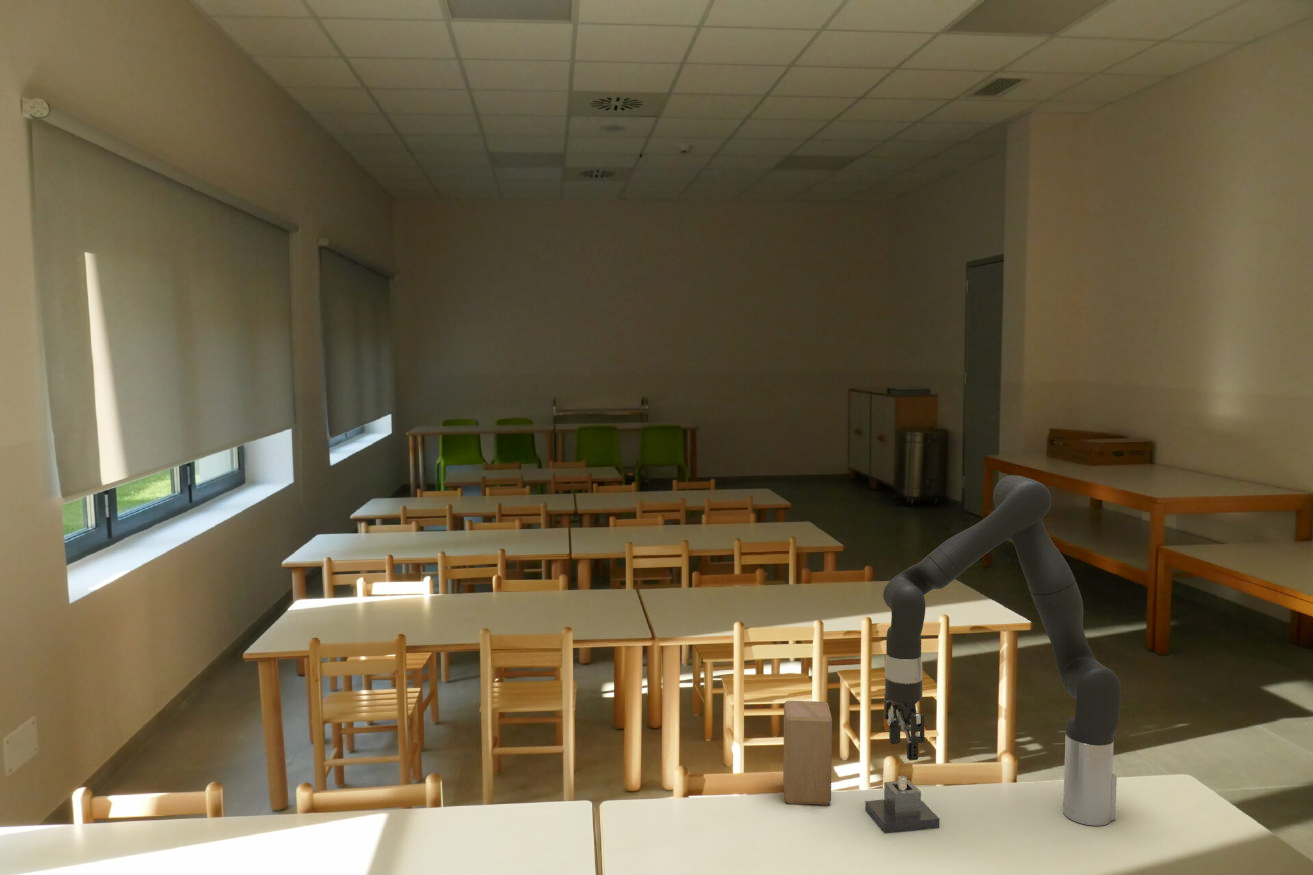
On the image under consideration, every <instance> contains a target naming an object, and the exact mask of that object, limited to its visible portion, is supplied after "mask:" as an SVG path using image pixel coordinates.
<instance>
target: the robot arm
mask: <svg viewBox="0 0 1313 875" xmlns="http://www.w3.org/2000/svg"><path fill="white" fill-rule="evenodd" d="M992 498H993V504H994V507H995V508H994V510H993V511H992V512H991V513H989V514H988V515H987V516H986V517H985V518H983V519H982V520H980V521H979V522H977V523H976V524H974V525H971V526H970V527H968V528H966V529H964V530H962V531H960V532H958V533H957V534H955V535H953V536H951V537H949V538H948V539H947V540H945V541H943V542H942V543H941V544H939V545H938V546H937V547H936V548H935V549H933V551H931V552H930V553H929V554H927V556H925V557H924V558H923V559H922V560H921V561H919V562H917V563H916V564H914V565H912V566H910V567H907V569H905V570H903V571H901V572H900V573H898V574H897V575H895V576H894V577H892V579H890V580H889V581H888V582H887V584H886V585H885V587H884V589H883V592H882V596H883V597H882V598H883V601H884V603H885V604H886V606H887V607H888V608H889V609H890V611H891V616H890V617H891V618H890V619H891V621H890V622H891V623H890V627H888V628H887V631H886V638H885V639H886V640H885V642H886V643H885V645H886V647H885V649H886V650H885V652H886V654H885V655H886V656H885V663H884V677H885V678H884V679H885V680H884V690H885V691H884V696H883V697H884V699H883V700H884V702H883V703H884V704H883V718H884V720H886V721H887V725H888V727H889V728H888V729H889V732H888V733H889V735H888V736H889V737H888V739H889V740H888V742H890V744H891V745H896V744H898V745H899V744H901V731H902V733H904V734H905V738H906V759H907V760H908V761H917V760H919V744H924V743H925V740H926V739H925V736H926V735H925V716H924V713H922V712H919V713H918V711H917V707H916V705H917V703H918V702H920V701H922V699H923V660H922V631H923V628H924V621H925V618H926V617H925V615H926V599H925V595H926V594H927V593H929V592H931V591H933V590H941V589H943V588H945V587H946V586H948V585H950V583H952V582H954V580H955V579H956V578H958V577H959V576H961V575H962V574H963V573H964V572H965V571H967V569H968V568H970V567H971V566H972V565H974V564H975V563H976V562H977V561H979V560H980V559H981V558H983V557H984V556H985V555H987V554H988V553H990V552H991V551H992V550H994V549H995V548H996V547H999V546H1000V545H1001V544H1003V543H1005V542H1006V541H1008V540H1009V539H1011V541H1012V544H1013V547H1014V549H1015V552H1016V554H1017V558H1018V561H1019V564H1020V567H1021V570H1022V573H1023V575H1024V578H1025V580H1026V584H1027V587H1028V590H1029V592H1030V596H1031V598H1032V601H1033V603H1034V606H1035V608H1036V610H1037V613H1038V615H1039V617H1040V620H1041V622H1042V625H1043V627H1044V630H1045V633H1046V634H1047V637H1048V639H1049V641H1050V644H1051V646H1052V651H1053V654H1054V659H1055V662H1056V666H1057V671H1058V674H1059V679H1060V682H1061V684H1062V686H1063V689H1064V690H1065V691H1066V692H1067V694H1068V695H1070V697H1072V698H1073V699H1074V700H1075V710H1074V711H1075V712H1074V716H1072V717H1069V718H1068V719H1067V720H1066V723H1065V737H1064V739H1065V740H1064V741H1065V742H1064V743H1065V744H1064V746H1065V748H1064V772H1063V773H1064V774H1063V796H1062V797H1063V798H1062V803H1063V804H1062V812H1063V814H1064V815H1065V817H1066V818H1068V819H1070V820H1071V821H1073V822H1075V823H1079V824H1082V825H1087V826H1098V827H1099V826H1106V825H1108V824H1109V823H1110V822H1111V821H1116V811H1117V810H1116V808H1117V806H1116V805H1117V783H1118V782H1117V781H1118V779H1117V778H1118V777H1117V776H1116V774H1114V773H1113V770H1114V742H1115V734H1116V732H1117V730H1118V728H1119V723H1120V715H1121V714H1120V713H1121V703H1122V687H1121V682H1120V679H1119V676H1117V674H1116V673H1115V672H1114V671H1113V670H1112V669H1110V668H1108V666H1107V667H1106V666H1105V665H1103V664H1101V663H1100V662H1099V661H1098V660H1097V658H1096V657H1095V655H1094V653H1093V650H1092V649H1091V647H1090V644H1089V642H1088V639H1087V637H1086V634H1085V631H1084V630H1085V629H1084V602H1083V598H1082V595H1081V591H1080V589H1079V586H1078V584H1077V581H1076V578H1075V576H1074V573H1073V572H1072V569H1071V567H1070V566H1069V564H1068V562H1067V561H1066V559H1065V557H1064V556H1063V554H1062V553H1061V552H1060V550H1059V549H1058V547H1057V546H1056V544H1055V543H1054V541H1053V540H1052V538H1051V537H1050V535H1049V534H1048V532H1047V529H1046V526H1045V524H1044V522H1043V518H1045V516H1046V515H1047V514H1048V513H1049V511H1050V510H1051V506H1052V495H1051V492H1050V490H1049V489H1048V488H1047V487H1046V485H1045V484H1043V483H1042V482H1039V481H1038V480H1035V479H1032V478H1029V477H1025V476H1022V475H1018V474H1017V475H1015V474H1011V475H1007V476H1004V477H1003V478H1001V479H999V480H998V482H997V483H996V485H995V487H994V490H993V495H992Z"/></svg>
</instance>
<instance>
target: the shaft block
mask: <svg viewBox="0 0 1313 875" xmlns="http://www.w3.org/2000/svg"><path fill="white" fill-rule="evenodd" d="M907 779H908V777H906V776H905V775H899V776H897V781H898V791H905V790H907ZM864 803H865V807H864V809H865V812H866V813H867V814H868V815H869V817H870V818H871V819H872V820H873V822H874V823H875V824H876V825H877V826H878V827H879V828H880V829H881V831H882V832H883V833H884V834H892V833H893V834H895V833H901V832H902V833H904V832H912V831H914V832H915V831H922V830H923V831H924V830H932V829H933V830H934V829H940V823H941V822H940V820H941V819H940V817H938V816H937V815H936V813H934V811H933V810H932V809H931V808H930V807H929V806H928V805H927V804H926V803H925V802H924V801H923V800H922V799H921V815H917V816H906V817H894V816H893V814H892V813H891V812H890V811H889V810H888V809H887V808H886V806H885V805H884V799H876V800H875V799H874V800H865V801H864Z"/></svg>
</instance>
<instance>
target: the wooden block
mask: <svg viewBox="0 0 1313 875" xmlns="http://www.w3.org/2000/svg"><path fill="white" fill-rule="evenodd" d="M829 705H830V704H829V703H828V702H826V701H811V700H786V701H785V702H784V704H783V764H782V766H783V768H782V770H783V775H782V778H783V780H782V781H783V794H784V800H785V802H786V803H787V802H788V803H787V804H799V805H800V804H801V805H820V806H821V805H822V806H824V805H825V806H827V805H830V803H832V802H831V801H832V766H833V765H832V761H833V760H832V758H833V757H832V756H833V755H832V752H833V750H832V749H833V748H832V747H833V744H832V743H833V718H832V714H831V710H830V706H829Z"/></svg>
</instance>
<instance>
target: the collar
mask: <svg viewBox="0 0 1313 875" xmlns="http://www.w3.org/2000/svg"><path fill="white" fill-rule="evenodd" d="M883 791H884V792H883V794H884V795H883V797H884V798H883V800H884V805H885V806H886V808H887V809H888V810H889V811H890V812H891V813H892V814H893V816H894V817H906V816H917V815H921V800H922V791H921V790H920V789H919V788H918V787H917V786H916V785H915V784H914V783H913V782H912V781H911V780H910V779H908V780H907V790H905V791H898V780H895V781H885V782H884V789H883Z"/></svg>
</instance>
